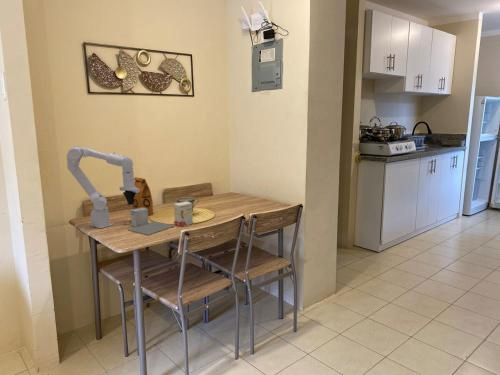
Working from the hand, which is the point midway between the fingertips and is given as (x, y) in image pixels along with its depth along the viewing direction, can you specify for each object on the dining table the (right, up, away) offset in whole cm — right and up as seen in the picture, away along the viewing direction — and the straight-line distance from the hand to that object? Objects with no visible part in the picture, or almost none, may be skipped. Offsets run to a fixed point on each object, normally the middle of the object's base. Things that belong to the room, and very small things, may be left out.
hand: (130, 204), depth 201 cm
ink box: (+30, -11, -3) cm, 32 cm away
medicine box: (+6, -11, -2) cm, 13 cm away
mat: (+14, -12, -9) cm, 20 cm away
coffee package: (+1, -7, +20) cm, 22 cm away
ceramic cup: (+29, -7, +17) cm, 34 cm away
